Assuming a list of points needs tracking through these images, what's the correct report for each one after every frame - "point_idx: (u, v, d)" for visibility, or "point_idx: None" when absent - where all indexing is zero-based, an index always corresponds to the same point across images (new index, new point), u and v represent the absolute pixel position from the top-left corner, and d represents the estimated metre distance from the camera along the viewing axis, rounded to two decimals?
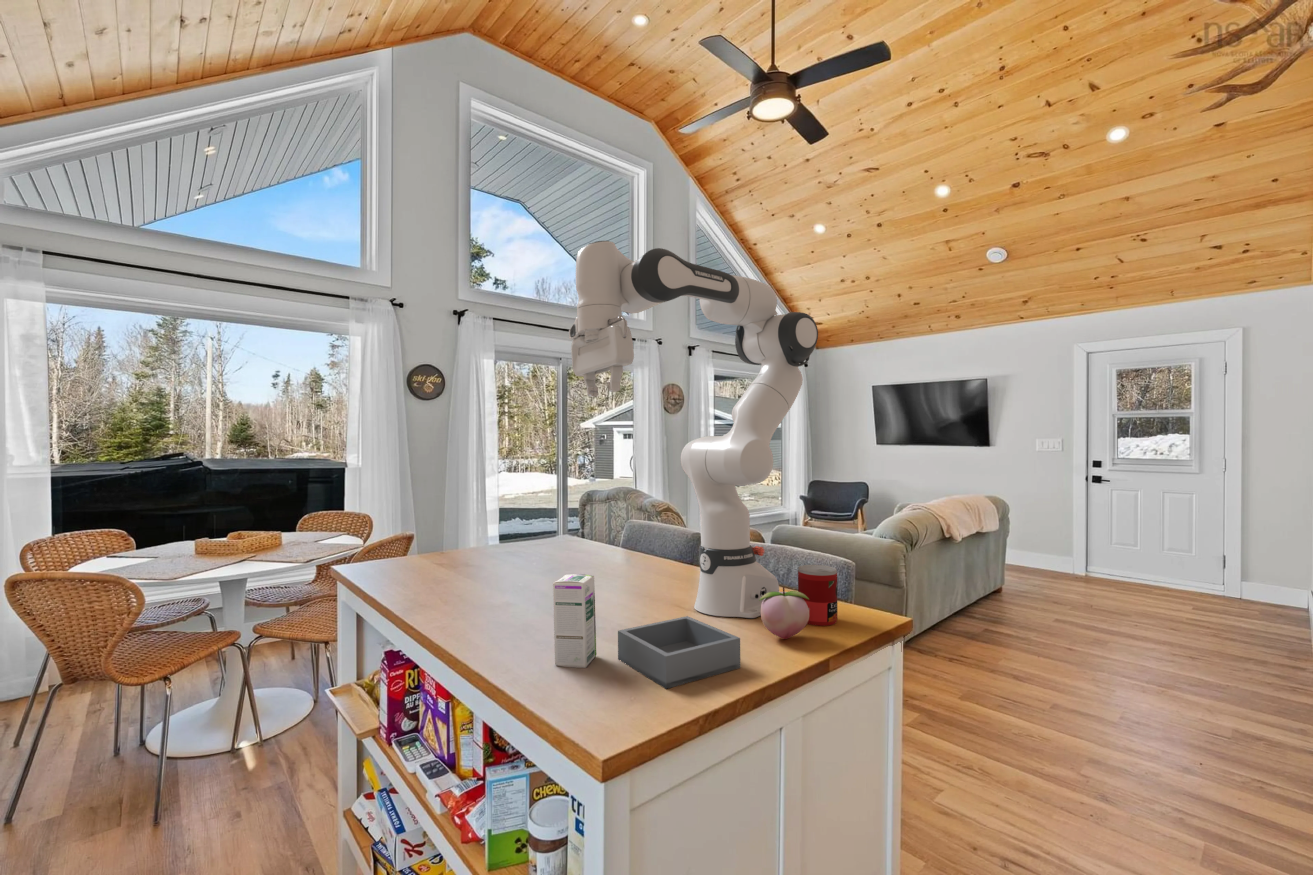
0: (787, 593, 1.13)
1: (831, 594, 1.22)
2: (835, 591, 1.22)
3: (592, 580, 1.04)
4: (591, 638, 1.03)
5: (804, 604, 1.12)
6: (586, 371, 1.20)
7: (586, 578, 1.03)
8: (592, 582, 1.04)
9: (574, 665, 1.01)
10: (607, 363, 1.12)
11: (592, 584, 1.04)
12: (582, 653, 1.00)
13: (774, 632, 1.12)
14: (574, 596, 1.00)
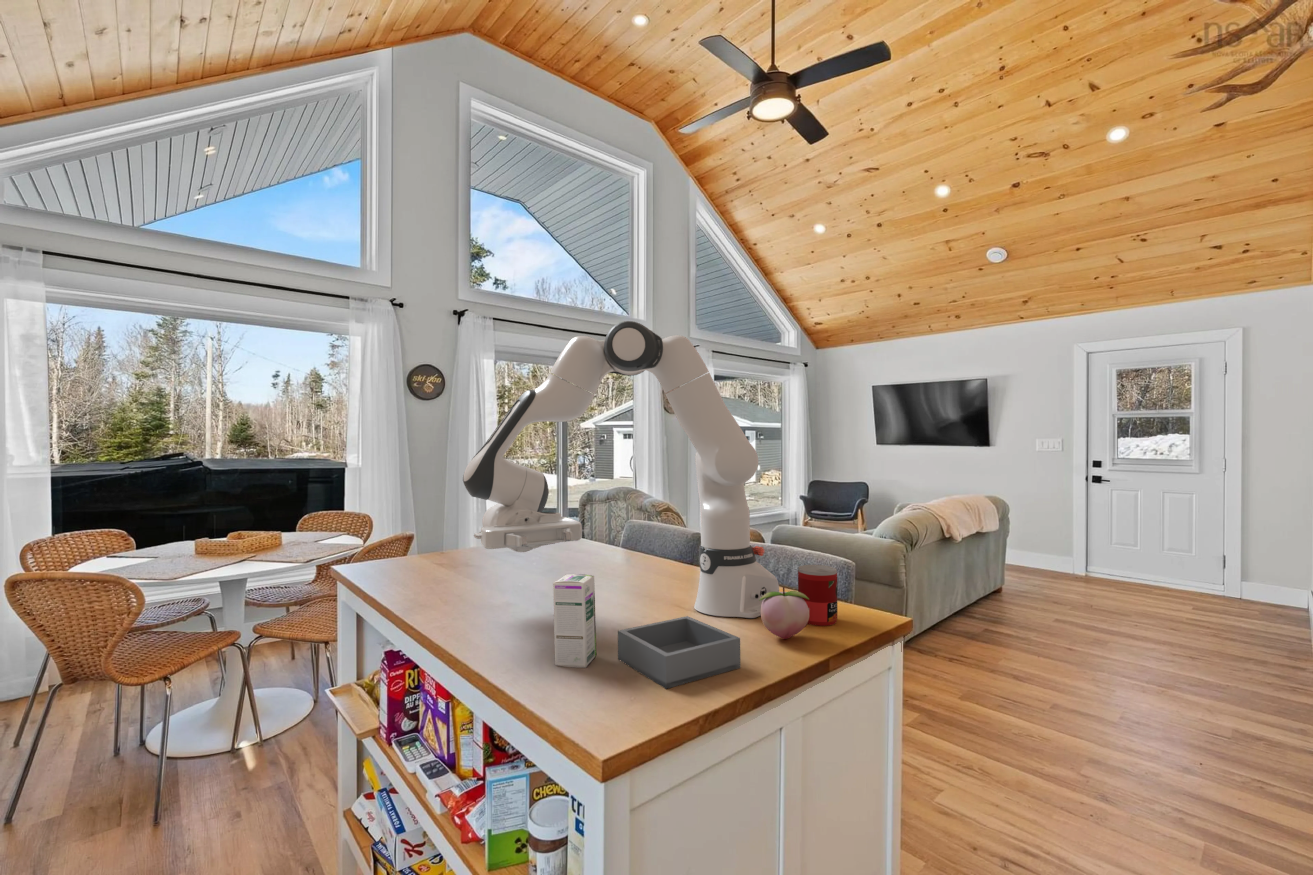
0: (787, 593, 1.13)
1: (831, 594, 1.22)
2: (835, 591, 1.22)
3: (592, 580, 1.04)
4: (591, 638, 1.03)
5: (804, 604, 1.12)
6: (554, 542, 1.20)
7: (586, 578, 1.03)
8: (592, 582, 1.04)
9: (574, 665, 1.01)
10: (508, 547, 1.15)
11: (592, 584, 1.04)
12: (582, 653, 1.00)
13: (774, 632, 1.12)
14: (574, 596, 1.01)
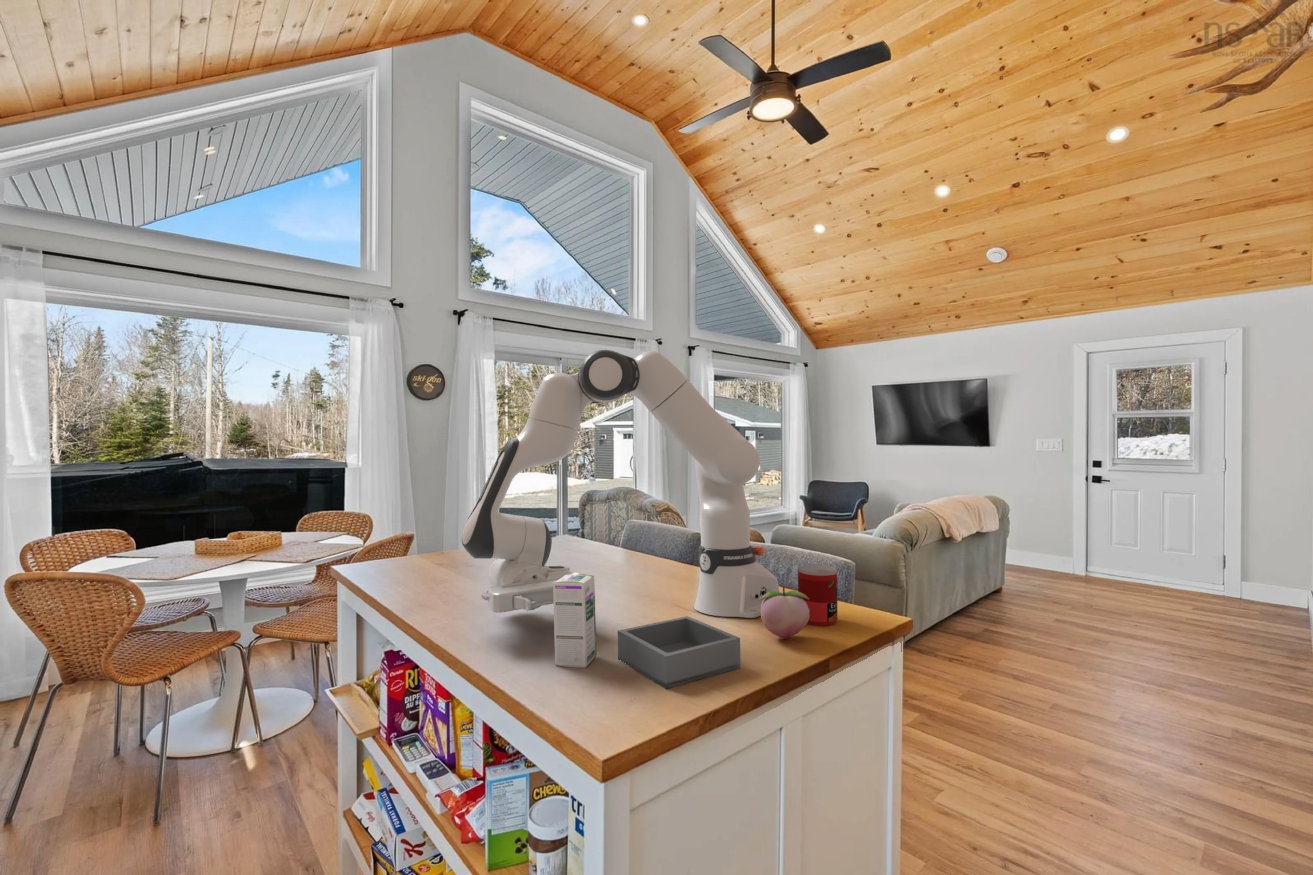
0: (787, 593, 1.13)
1: (831, 594, 1.22)
2: (835, 591, 1.22)
3: (592, 580, 1.04)
4: (591, 638, 1.03)
5: (804, 604, 1.12)
6: None
7: (586, 578, 1.03)
8: (592, 582, 1.04)
9: (574, 665, 1.01)
10: (516, 609, 1.12)
11: (592, 584, 1.04)
12: (582, 653, 1.00)
13: (774, 632, 1.12)
14: (574, 596, 1.00)
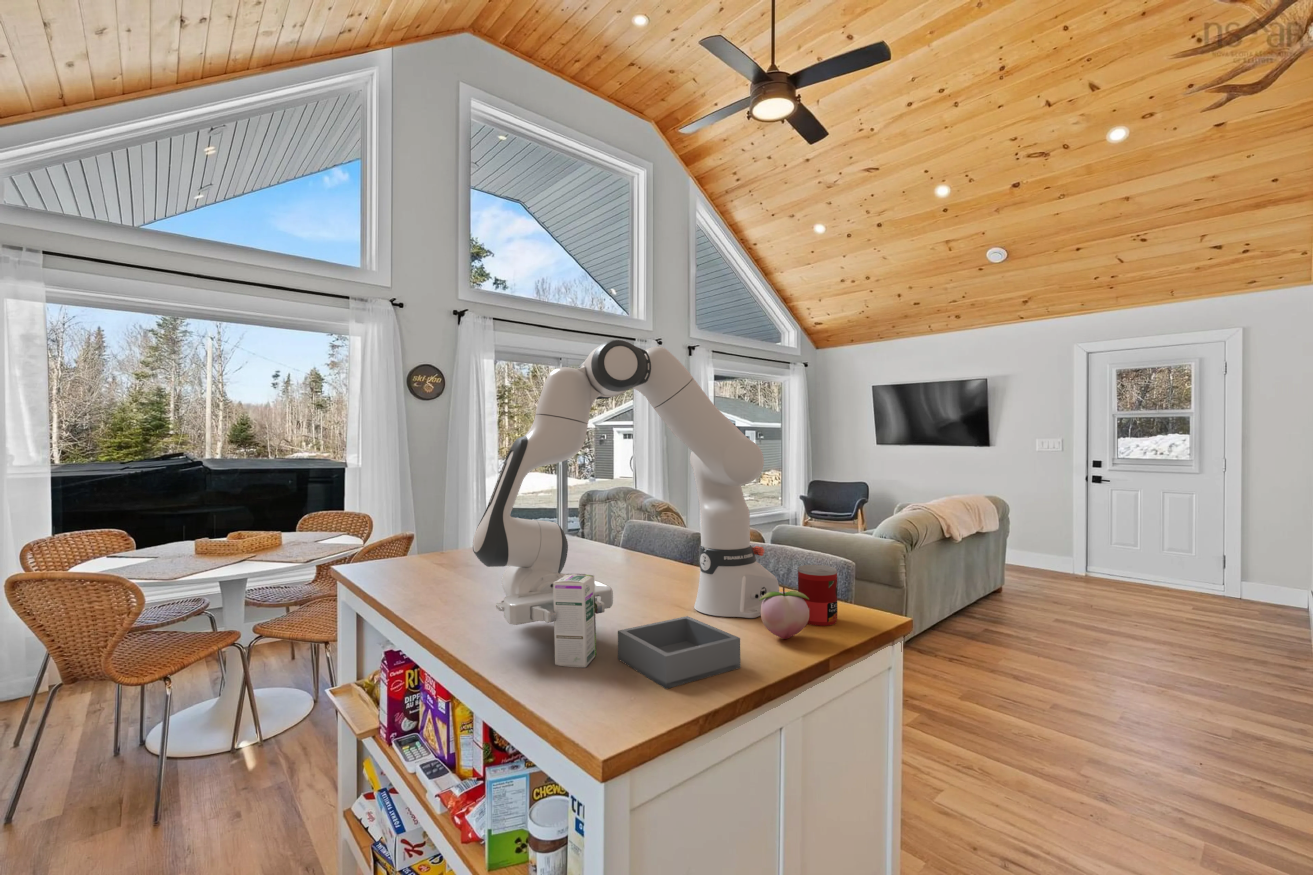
0: (787, 593, 1.13)
1: (831, 594, 1.22)
2: (835, 591, 1.22)
3: (592, 580, 1.04)
4: (591, 638, 1.03)
5: (804, 604, 1.12)
6: None
7: (586, 578, 1.03)
8: (592, 582, 1.04)
9: (574, 665, 1.01)
10: (534, 621, 1.04)
11: (592, 584, 1.04)
12: (582, 653, 1.00)
13: (774, 632, 1.12)
14: (574, 596, 1.01)
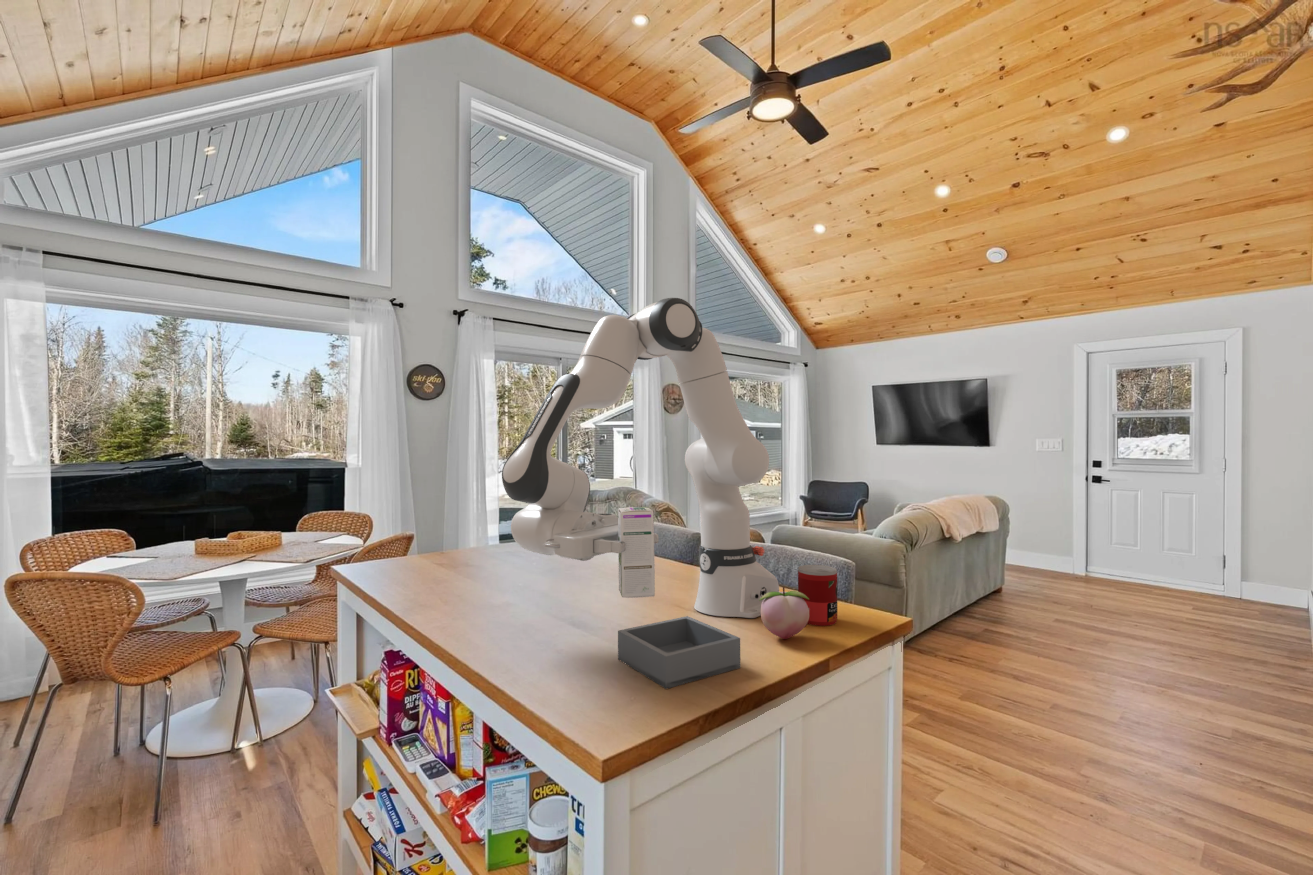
0: (787, 593, 1.13)
1: (831, 594, 1.22)
2: (835, 591, 1.22)
3: None
4: None
5: (804, 604, 1.12)
6: None
7: (648, 508, 1.02)
8: None
9: (642, 595, 0.99)
10: (594, 555, 1.00)
11: None
12: (651, 582, 0.99)
13: (774, 632, 1.12)
14: (643, 525, 0.99)
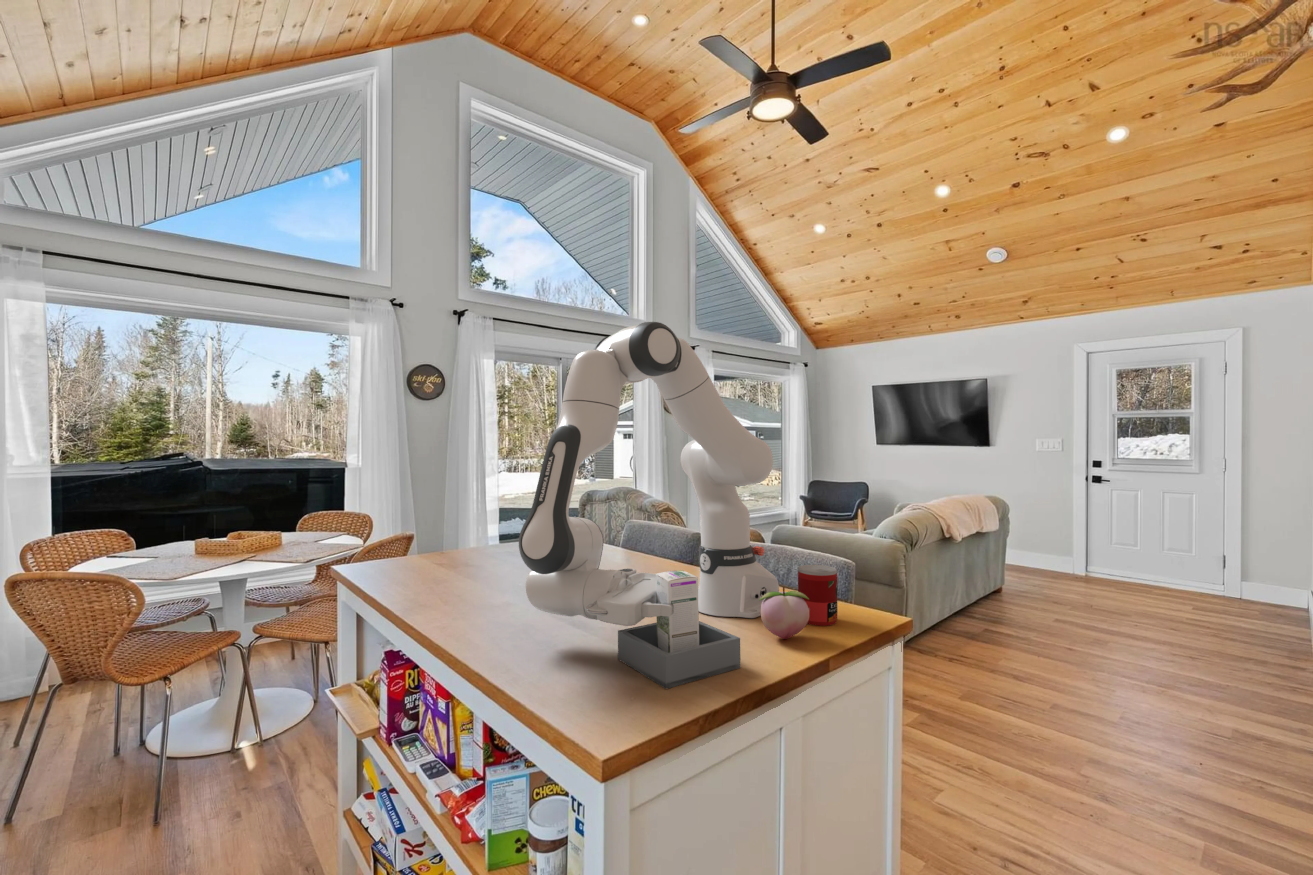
0: (787, 593, 1.13)
1: (831, 594, 1.22)
2: (835, 591, 1.22)
3: None
4: None
5: (804, 604, 1.12)
6: None
7: (687, 573, 1.03)
8: None
9: None
10: None
11: None
12: None
13: (774, 632, 1.12)
14: (689, 591, 1.00)
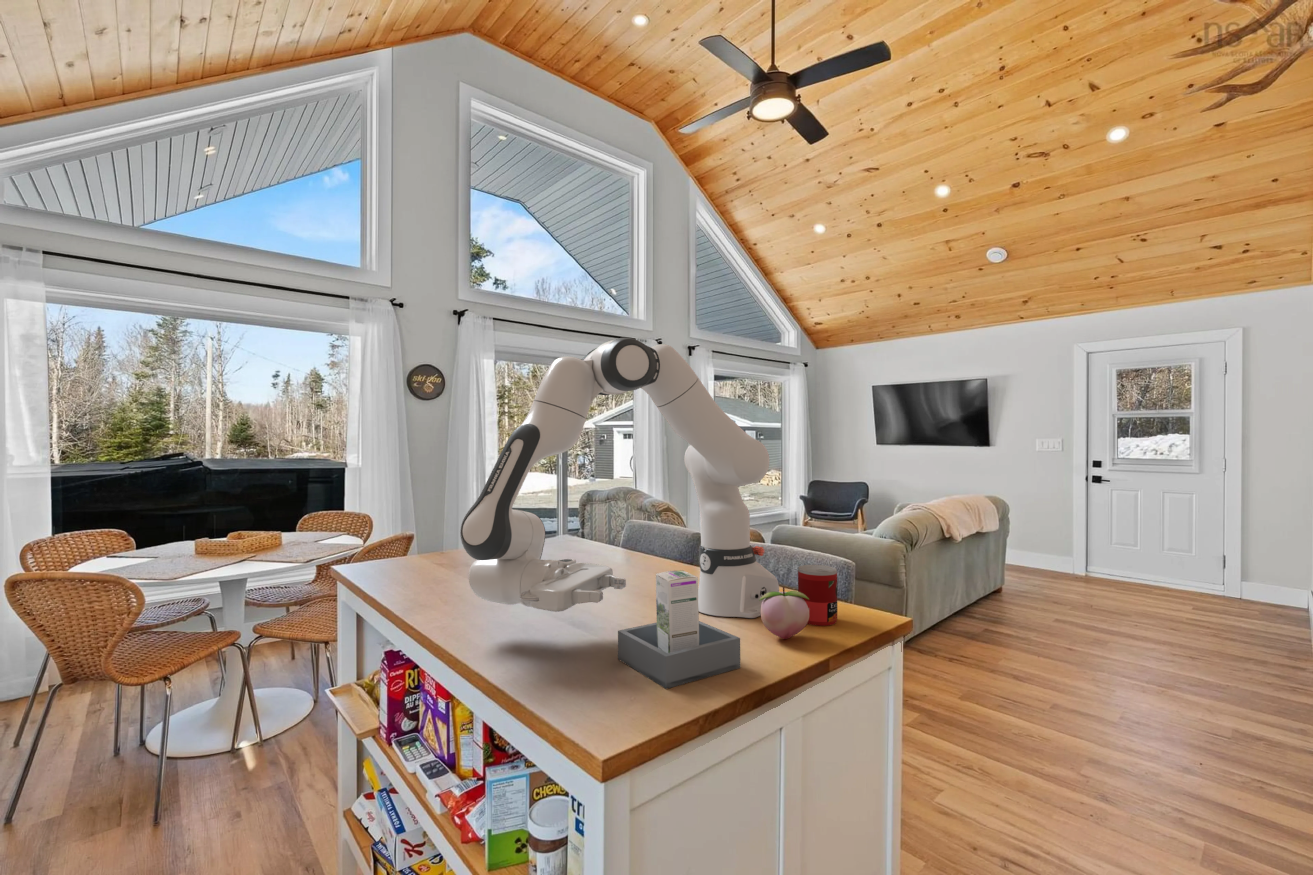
0: (787, 593, 1.13)
1: (831, 594, 1.22)
2: (835, 591, 1.22)
3: None
4: None
5: (804, 604, 1.12)
6: None
7: (687, 573, 1.03)
8: None
9: None
10: (571, 606, 1.03)
11: None
12: None
13: (774, 632, 1.12)
14: (689, 591, 1.00)
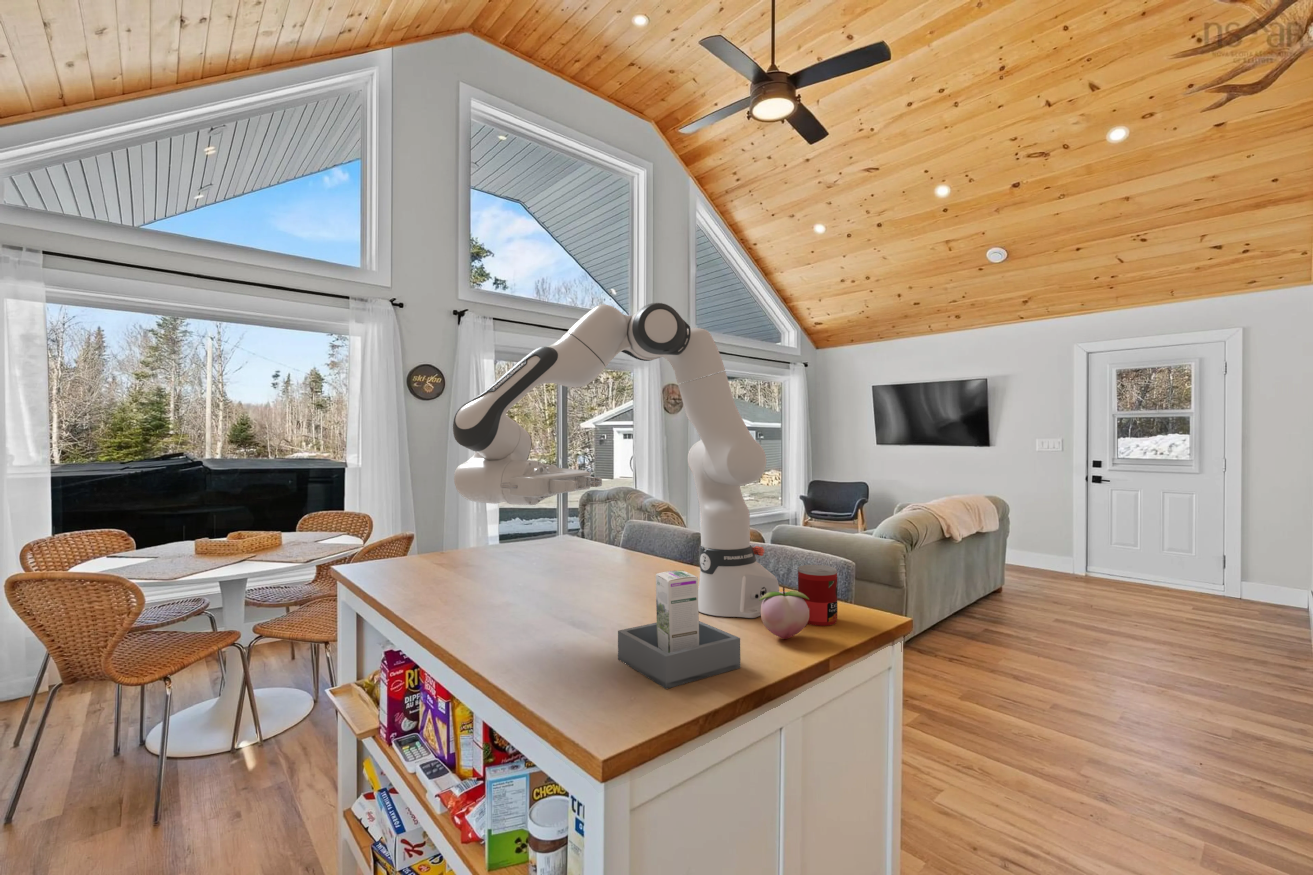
0: (787, 593, 1.13)
1: (831, 594, 1.22)
2: (835, 591, 1.22)
3: None
4: None
5: (804, 604, 1.12)
6: (576, 490, 1.18)
7: (687, 573, 1.03)
8: None
9: None
10: (548, 495, 1.10)
11: None
12: None
13: (774, 632, 1.12)
14: (689, 591, 1.00)
